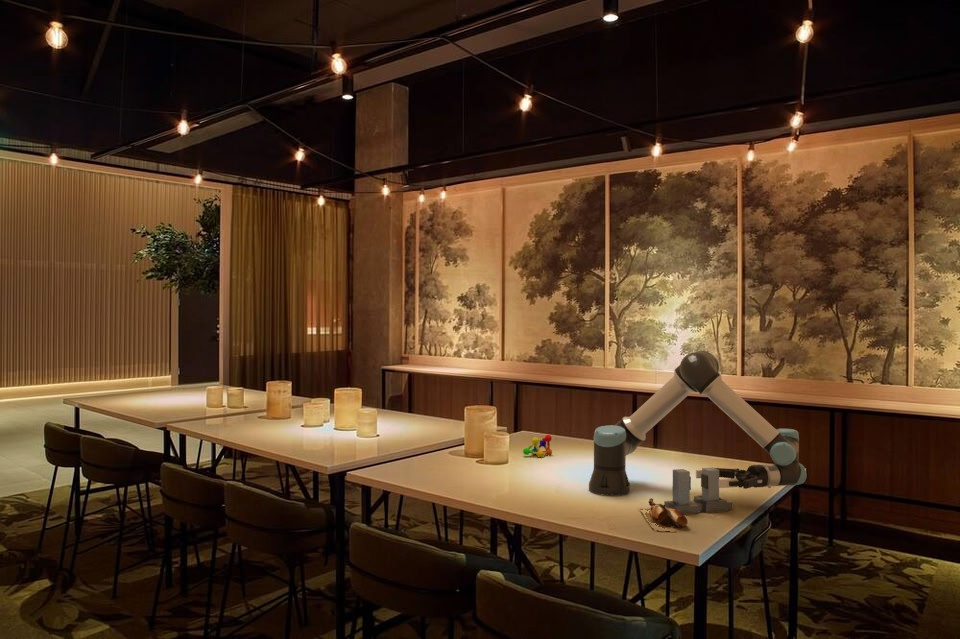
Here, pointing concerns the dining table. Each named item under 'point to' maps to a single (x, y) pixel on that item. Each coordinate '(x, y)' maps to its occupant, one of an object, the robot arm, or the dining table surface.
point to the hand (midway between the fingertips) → (707, 478)
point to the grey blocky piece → (697, 504)
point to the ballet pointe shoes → (665, 516)
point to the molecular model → (542, 443)
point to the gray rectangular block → (710, 484)
